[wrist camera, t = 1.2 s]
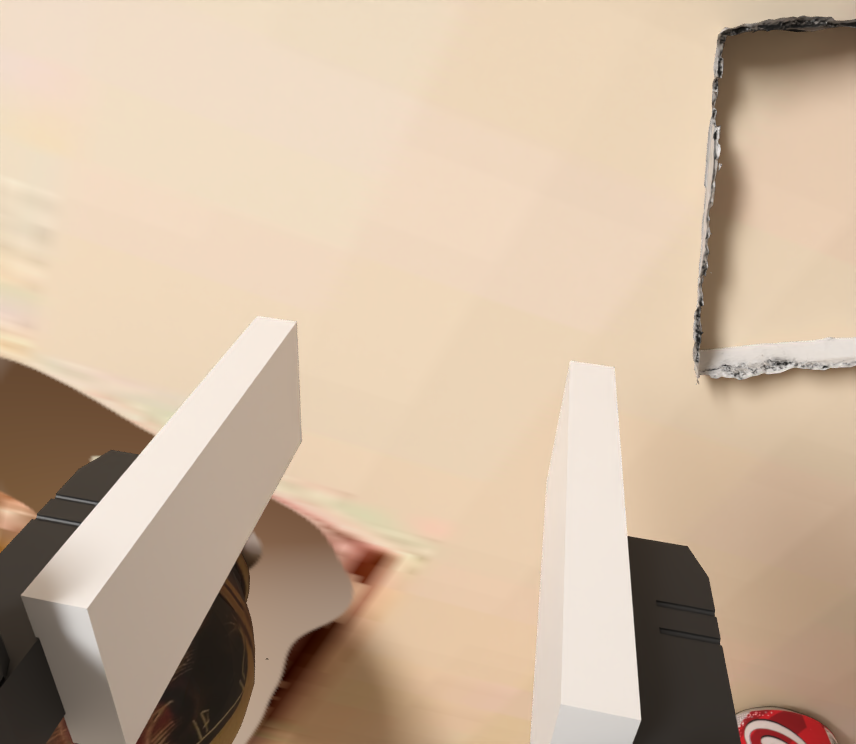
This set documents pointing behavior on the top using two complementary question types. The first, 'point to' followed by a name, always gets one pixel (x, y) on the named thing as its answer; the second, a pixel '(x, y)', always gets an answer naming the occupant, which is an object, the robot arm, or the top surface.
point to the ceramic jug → (206, 676)
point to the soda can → (781, 727)
